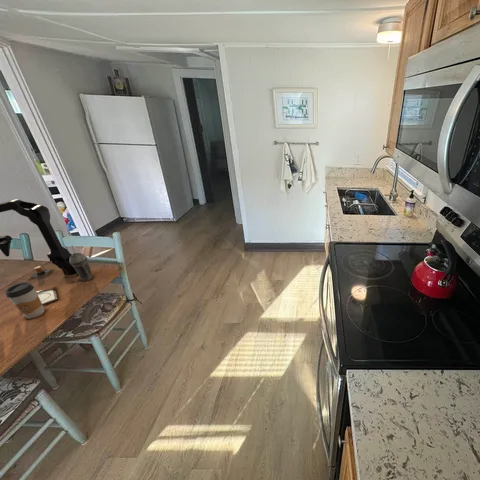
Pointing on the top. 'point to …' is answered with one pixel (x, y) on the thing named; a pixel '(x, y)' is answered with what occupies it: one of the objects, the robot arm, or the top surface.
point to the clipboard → (47, 296)
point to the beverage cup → (81, 265)
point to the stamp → (39, 270)
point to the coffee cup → (25, 299)
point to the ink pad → (41, 274)
